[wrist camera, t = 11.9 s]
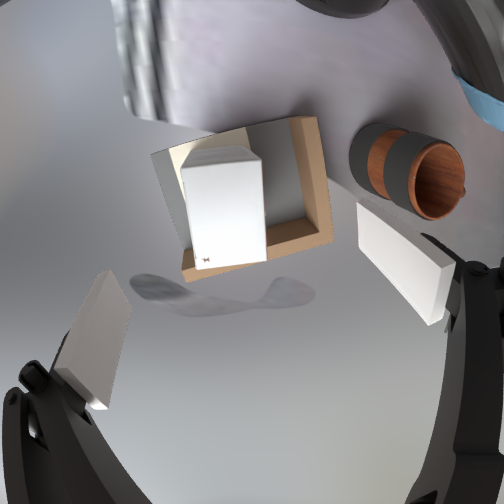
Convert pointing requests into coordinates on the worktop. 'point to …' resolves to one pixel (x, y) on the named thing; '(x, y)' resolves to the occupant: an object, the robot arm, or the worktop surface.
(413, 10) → the worktop surface
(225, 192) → the small box
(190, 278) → the brown piece
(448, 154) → the mug
